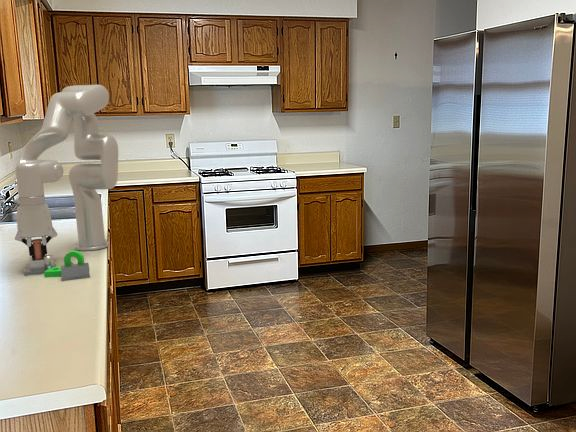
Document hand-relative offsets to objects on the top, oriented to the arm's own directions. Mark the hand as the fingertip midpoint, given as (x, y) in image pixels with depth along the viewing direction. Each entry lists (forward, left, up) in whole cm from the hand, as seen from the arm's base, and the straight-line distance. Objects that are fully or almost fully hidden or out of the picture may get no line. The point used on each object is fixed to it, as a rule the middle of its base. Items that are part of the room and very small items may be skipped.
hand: (38, 256), depth 186 cm
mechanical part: (+9, +8, -5) cm, 13 cm away
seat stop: (+15, +11, -5) cm, 19 cm away
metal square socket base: (0, 0, -5) cm, 5 cm away
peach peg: (0, 0, -3) cm, 3 cm away
